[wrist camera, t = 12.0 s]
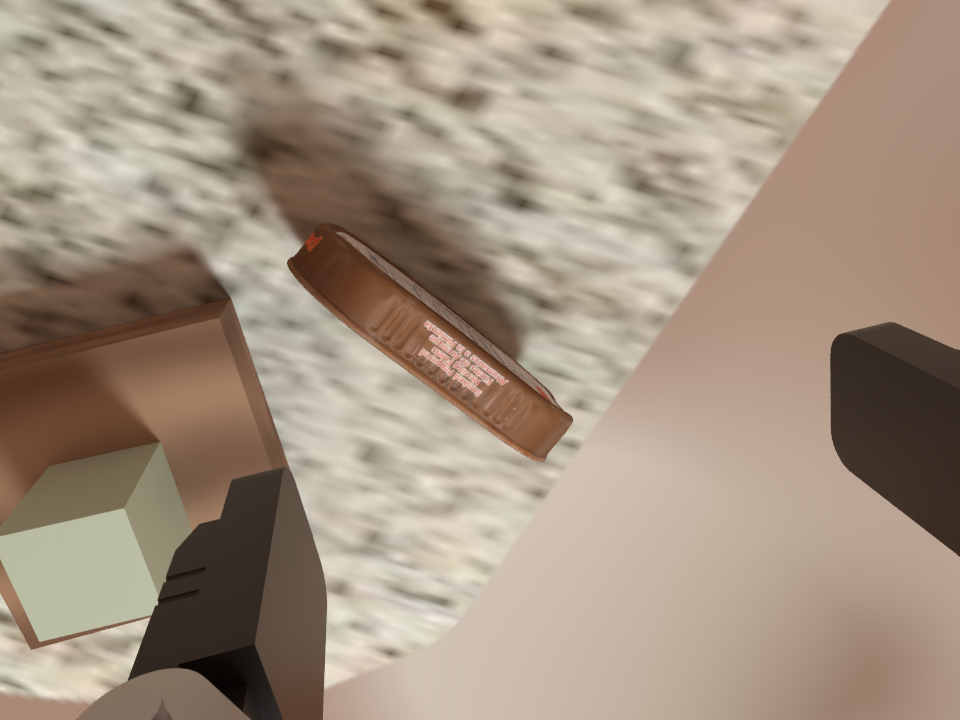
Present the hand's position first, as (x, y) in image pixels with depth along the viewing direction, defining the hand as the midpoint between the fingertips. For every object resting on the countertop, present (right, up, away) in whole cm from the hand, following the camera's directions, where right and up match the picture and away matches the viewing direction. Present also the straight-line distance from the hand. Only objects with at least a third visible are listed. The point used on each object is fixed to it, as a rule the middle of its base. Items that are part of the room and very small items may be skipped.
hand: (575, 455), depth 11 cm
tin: (-4, +4, +28) cm, 28 cm away
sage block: (-18, -5, +24) cm, 31 cm away
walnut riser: (-19, -4, +28) cm, 34 cm away
